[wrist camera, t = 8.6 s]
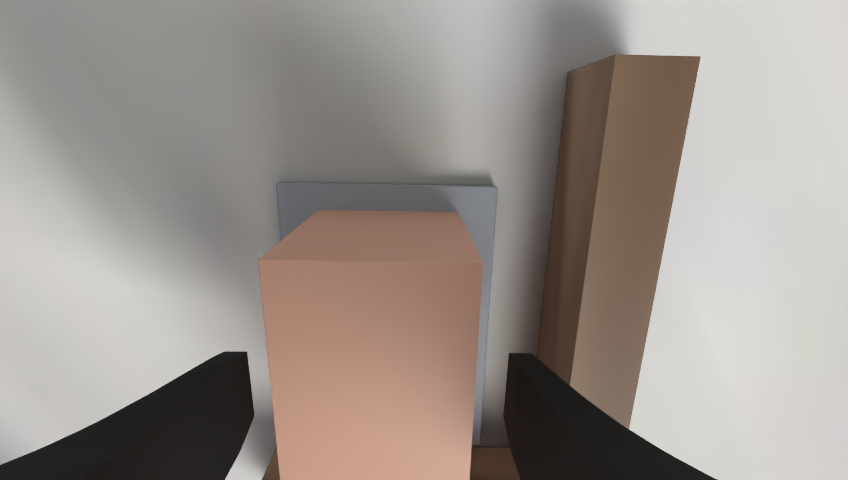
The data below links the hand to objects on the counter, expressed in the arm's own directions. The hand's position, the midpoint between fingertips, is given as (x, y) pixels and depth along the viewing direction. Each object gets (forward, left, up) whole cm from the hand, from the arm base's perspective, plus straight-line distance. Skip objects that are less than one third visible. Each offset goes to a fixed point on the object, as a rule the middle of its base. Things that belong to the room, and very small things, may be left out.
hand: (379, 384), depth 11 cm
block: (0, 0, -3) cm, 3 cm away
